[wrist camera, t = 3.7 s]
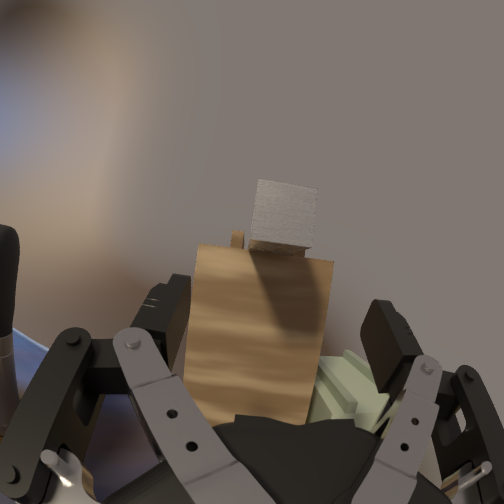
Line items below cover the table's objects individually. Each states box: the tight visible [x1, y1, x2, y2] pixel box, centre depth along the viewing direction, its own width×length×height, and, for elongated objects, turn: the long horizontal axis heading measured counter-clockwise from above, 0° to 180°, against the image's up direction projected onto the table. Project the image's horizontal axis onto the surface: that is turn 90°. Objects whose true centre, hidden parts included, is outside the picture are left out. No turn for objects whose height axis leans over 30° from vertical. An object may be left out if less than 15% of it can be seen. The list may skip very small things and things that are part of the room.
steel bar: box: [248, 179, 318, 255], centre depth 28 cm, size 24×4×4 cm, turn 1°
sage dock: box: [305, 350, 389, 431], centre depth 32 cm, size 20×10×22 cm, turn 1°
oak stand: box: [183, 230, 334, 427], centre depth 32 cm, size 15×12×36 cm
